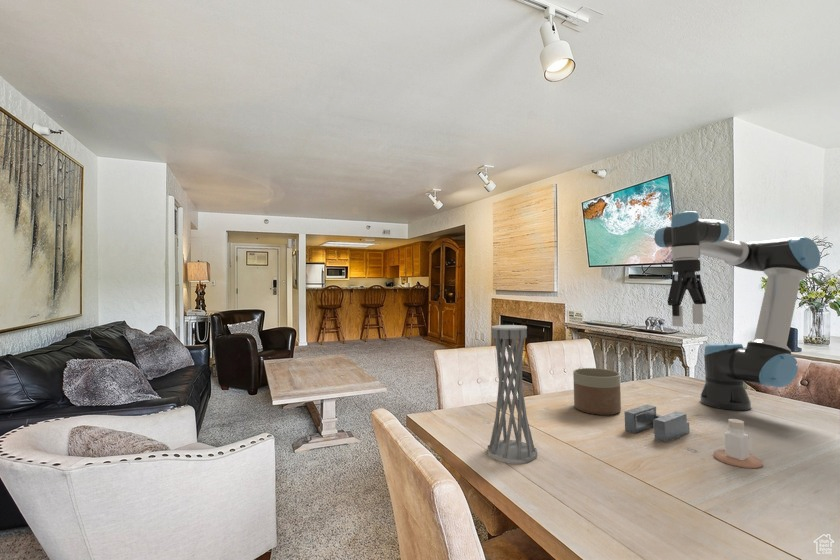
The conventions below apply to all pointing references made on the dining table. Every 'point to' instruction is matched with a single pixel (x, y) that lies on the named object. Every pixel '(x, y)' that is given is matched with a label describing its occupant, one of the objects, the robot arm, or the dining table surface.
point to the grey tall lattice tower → (510, 448)
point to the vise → (656, 423)
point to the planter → (597, 391)
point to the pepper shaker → (736, 440)
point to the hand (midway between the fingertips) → (688, 325)
